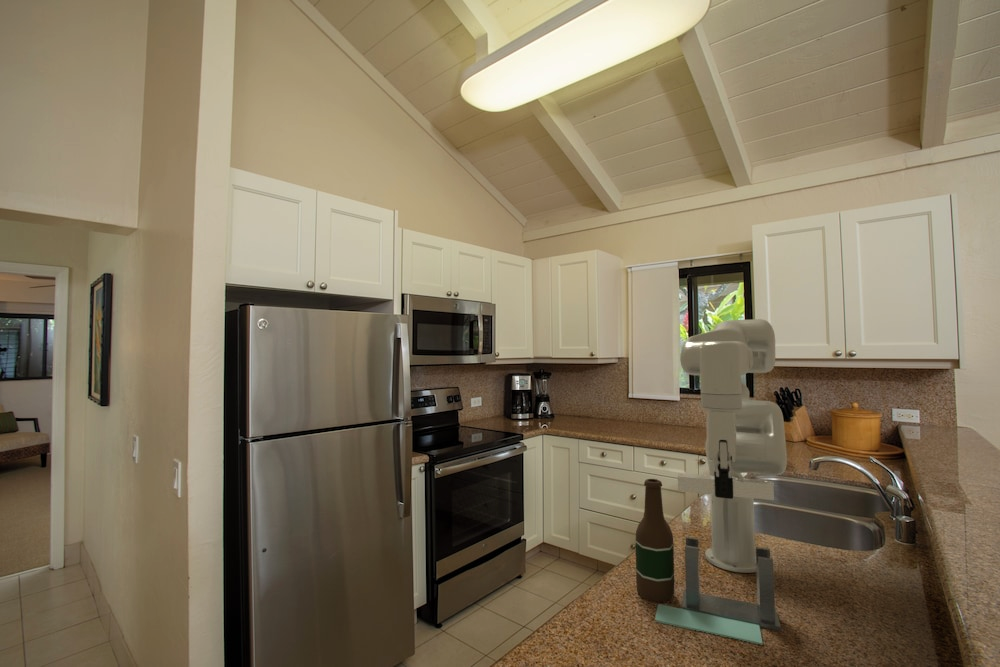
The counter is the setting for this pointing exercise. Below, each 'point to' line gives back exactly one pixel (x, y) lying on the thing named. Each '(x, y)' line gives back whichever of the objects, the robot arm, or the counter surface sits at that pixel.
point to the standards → (731, 608)
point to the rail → (740, 486)
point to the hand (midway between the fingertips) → (723, 493)
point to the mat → (709, 623)
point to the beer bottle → (654, 549)
